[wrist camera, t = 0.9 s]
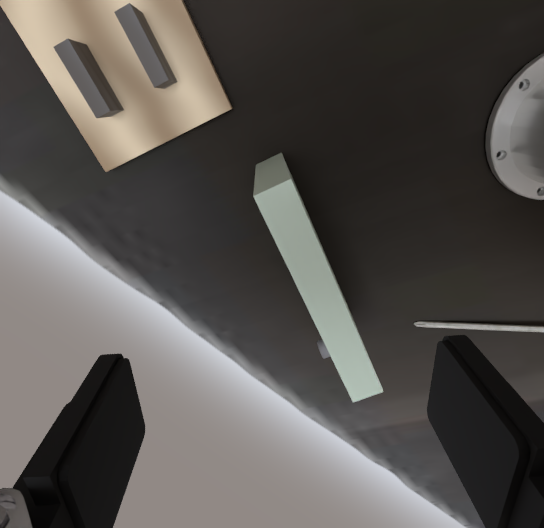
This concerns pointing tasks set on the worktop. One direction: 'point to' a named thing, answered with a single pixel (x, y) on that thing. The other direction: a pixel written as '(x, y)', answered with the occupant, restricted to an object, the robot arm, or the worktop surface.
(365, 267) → the worktop surface
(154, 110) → the hinge base
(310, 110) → the worktop surface
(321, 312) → the door
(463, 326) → the screwdriver
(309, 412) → the worktop surface
